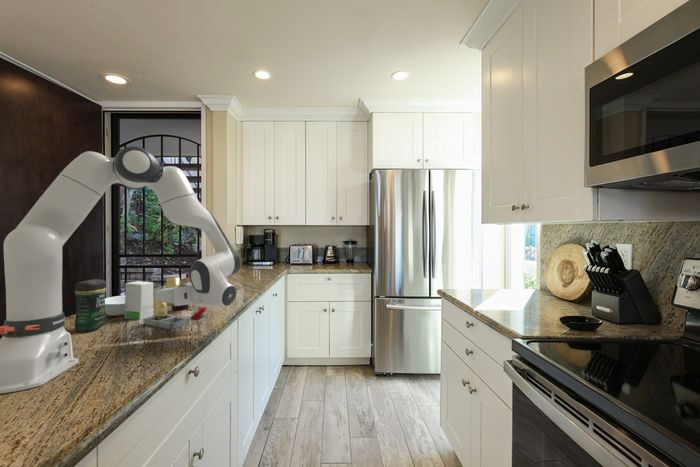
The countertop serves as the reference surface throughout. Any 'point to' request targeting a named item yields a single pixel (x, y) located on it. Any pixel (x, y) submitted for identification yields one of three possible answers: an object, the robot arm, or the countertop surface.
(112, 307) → the serving bowl
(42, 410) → the countertop surface
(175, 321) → the grey tray
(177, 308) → the coffee mug
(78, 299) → the coffee jar
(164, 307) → the billet
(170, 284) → the billet
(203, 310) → the strawberry
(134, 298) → the skincare box
